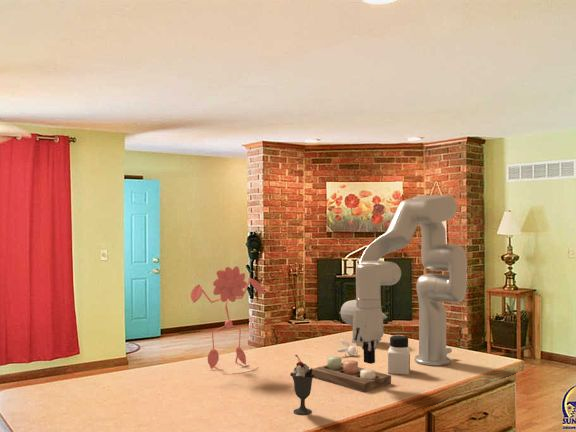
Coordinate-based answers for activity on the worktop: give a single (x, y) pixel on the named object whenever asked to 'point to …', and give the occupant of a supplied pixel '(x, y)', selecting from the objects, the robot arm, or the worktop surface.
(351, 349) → the rabbit figurine
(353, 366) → the peach rounded dome
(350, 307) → the jet engine
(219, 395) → the worktop surface
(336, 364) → the sage button
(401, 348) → the medicine bottle
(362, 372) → the cream egg
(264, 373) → the worktop surface
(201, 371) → the worktop surface
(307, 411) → the sundae
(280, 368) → the worktop surface
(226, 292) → the figurine
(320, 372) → the button board
